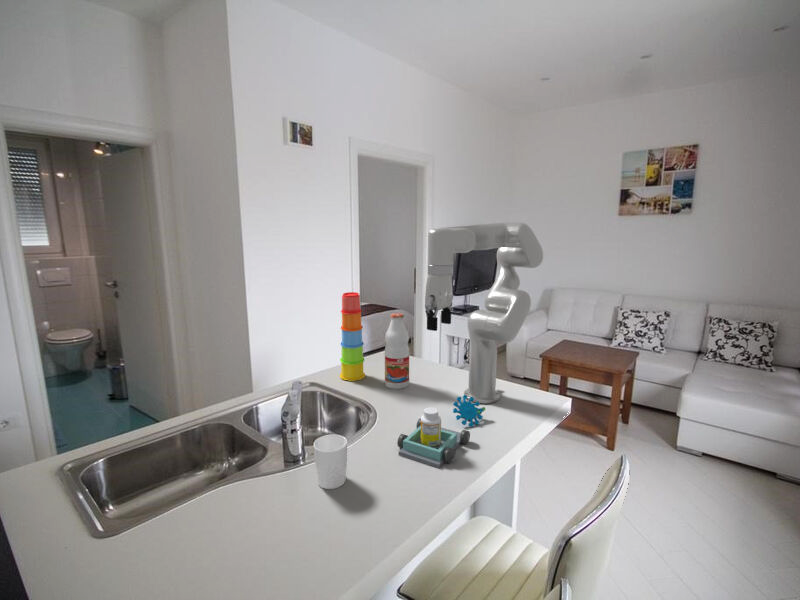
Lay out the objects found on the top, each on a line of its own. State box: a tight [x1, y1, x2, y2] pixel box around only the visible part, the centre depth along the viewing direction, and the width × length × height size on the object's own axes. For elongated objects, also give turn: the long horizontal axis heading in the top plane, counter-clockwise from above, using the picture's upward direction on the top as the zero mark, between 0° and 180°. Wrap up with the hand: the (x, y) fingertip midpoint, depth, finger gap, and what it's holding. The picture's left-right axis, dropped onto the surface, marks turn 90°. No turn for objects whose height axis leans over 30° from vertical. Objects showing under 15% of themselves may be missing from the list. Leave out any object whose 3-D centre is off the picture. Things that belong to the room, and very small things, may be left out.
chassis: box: [396, 417, 471, 469], centre depth 115 cm, size 18×15×4 cm
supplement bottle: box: [420, 407, 442, 449], centre depth 112 cm, size 6×6×10 cm
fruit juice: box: [384, 312, 410, 390], centre depth 156 cm, size 9×9×28 cm
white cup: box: [313, 434, 348, 490], centre depth 98 cm, size 8×8×10 cm
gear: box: [452, 394, 486, 428], centre depth 130 cm, size 11×6×10 cm
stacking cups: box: [339, 291, 366, 382], centre depth 164 cm, size 10×10×35 cm
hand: (439, 326), depth 125 cm, fingers open, 9 cm apart
